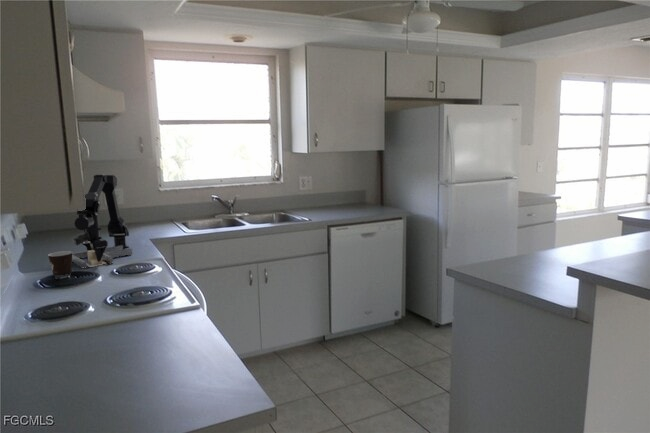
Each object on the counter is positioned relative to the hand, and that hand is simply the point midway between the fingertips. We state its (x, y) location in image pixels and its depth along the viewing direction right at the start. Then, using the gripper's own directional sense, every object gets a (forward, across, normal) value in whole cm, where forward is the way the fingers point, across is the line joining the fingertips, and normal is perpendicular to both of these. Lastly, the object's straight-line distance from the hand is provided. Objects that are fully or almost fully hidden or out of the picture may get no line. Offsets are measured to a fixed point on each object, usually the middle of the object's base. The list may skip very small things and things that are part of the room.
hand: (95, 259), depth 212 cm
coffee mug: (+2, +12, -17) cm, 21 cm away
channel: (+2, -7, +6) cm, 10 cm away
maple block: (+2, 0, 0) cm, 2 cm away
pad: (+2, 0, 0) cm, 2 cm away
